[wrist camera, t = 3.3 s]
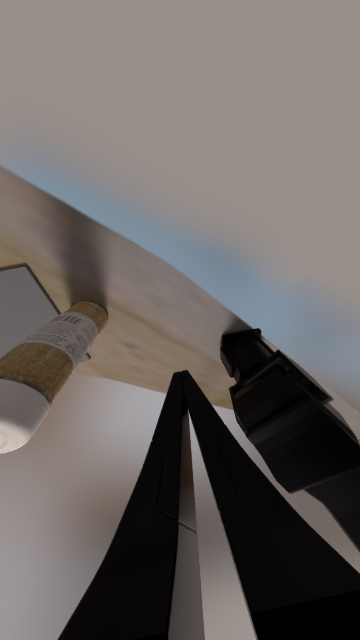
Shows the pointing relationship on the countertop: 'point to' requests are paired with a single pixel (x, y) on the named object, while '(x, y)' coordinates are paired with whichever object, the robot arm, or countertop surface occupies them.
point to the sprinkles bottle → (43, 370)
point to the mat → (22, 308)
